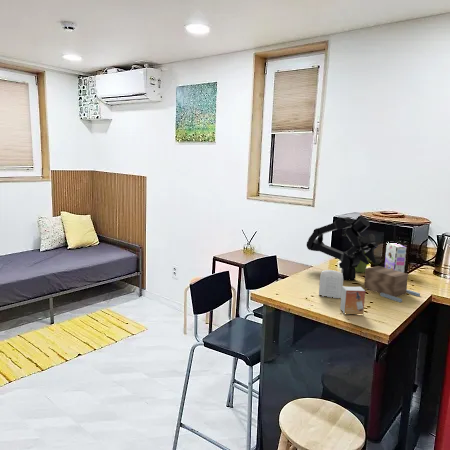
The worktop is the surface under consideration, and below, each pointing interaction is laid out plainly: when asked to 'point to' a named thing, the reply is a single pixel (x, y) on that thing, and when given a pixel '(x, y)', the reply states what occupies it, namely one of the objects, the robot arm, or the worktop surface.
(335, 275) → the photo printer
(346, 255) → the robot arm
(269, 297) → the worktop surface
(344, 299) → the small box
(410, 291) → the bay rails
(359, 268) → the plant pot
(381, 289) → the walnut box
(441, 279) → the worktop surface
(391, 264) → the candy box
